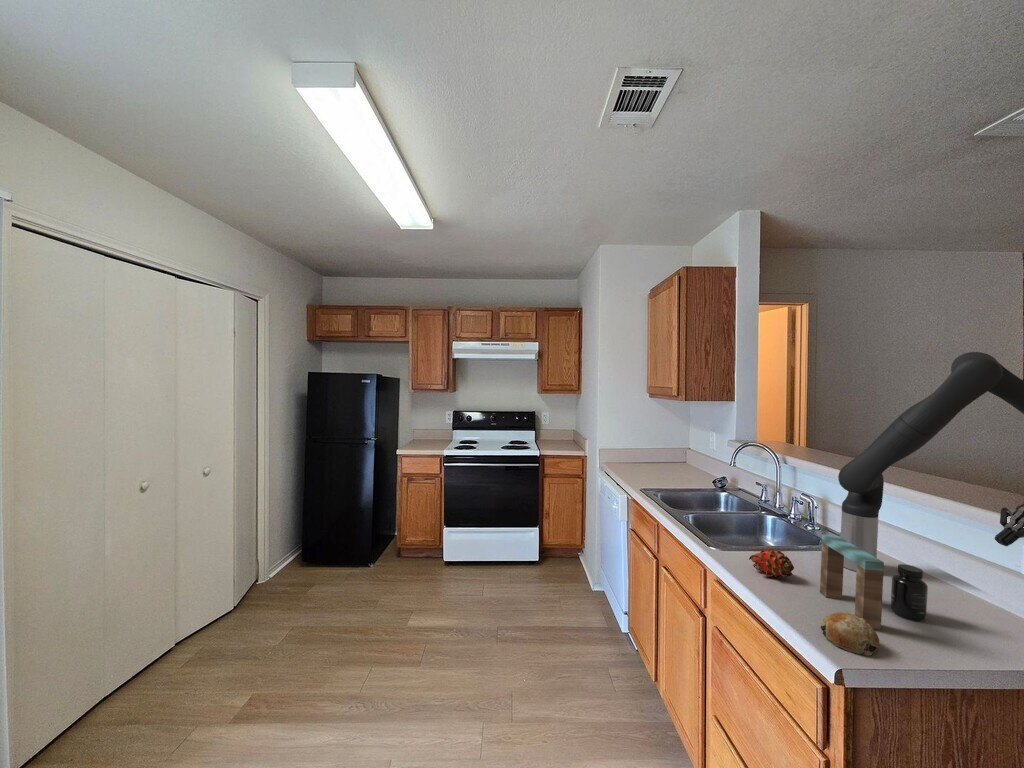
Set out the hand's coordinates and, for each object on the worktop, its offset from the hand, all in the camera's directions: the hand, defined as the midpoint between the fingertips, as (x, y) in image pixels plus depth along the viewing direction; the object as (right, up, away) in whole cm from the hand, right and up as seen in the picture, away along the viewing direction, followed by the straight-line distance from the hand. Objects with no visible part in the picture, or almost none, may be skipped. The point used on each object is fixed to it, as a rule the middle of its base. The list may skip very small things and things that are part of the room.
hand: (1000, 542), depth 111 cm
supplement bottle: (-20, -19, +3) cm, 28 cm away
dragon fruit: (-43, -18, +24) cm, 52 cm away
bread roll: (-45, -19, -10) cm, 50 cm away
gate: (-34, -19, +4) cm, 39 cm away
